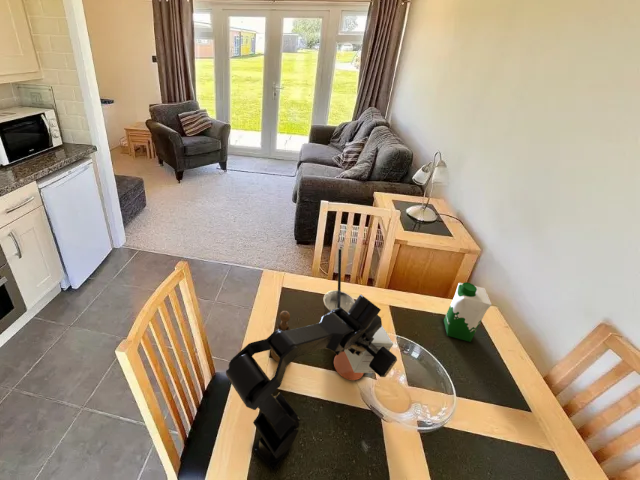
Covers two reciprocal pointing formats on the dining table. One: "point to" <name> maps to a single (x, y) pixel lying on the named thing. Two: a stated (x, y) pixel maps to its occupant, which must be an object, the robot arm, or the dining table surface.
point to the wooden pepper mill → (284, 327)
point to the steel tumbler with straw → (337, 295)
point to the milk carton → (466, 311)
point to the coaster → (345, 367)
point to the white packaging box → (362, 362)
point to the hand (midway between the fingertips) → (368, 344)
